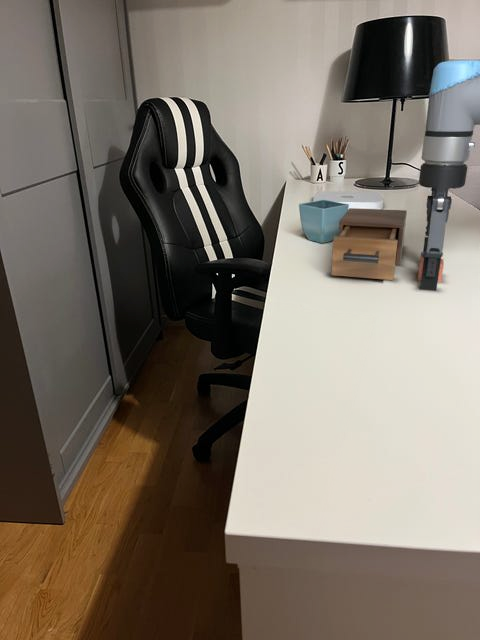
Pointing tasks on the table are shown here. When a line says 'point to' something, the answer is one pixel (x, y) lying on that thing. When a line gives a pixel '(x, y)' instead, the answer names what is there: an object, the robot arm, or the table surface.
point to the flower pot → (321, 219)
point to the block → (422, 268)
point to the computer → (352, 198)
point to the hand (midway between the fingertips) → (427, 280)
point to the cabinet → (377, 222)
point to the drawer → (365, 252)
